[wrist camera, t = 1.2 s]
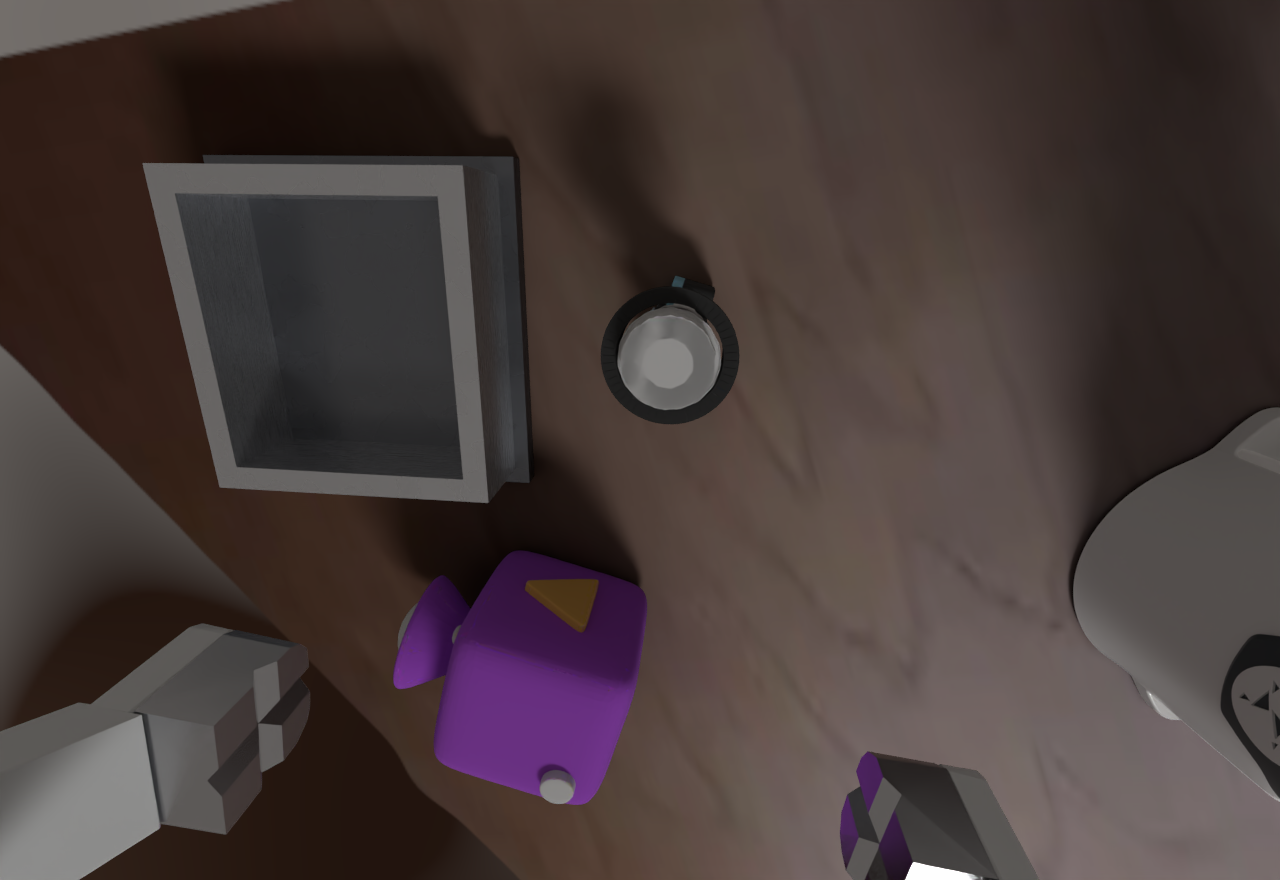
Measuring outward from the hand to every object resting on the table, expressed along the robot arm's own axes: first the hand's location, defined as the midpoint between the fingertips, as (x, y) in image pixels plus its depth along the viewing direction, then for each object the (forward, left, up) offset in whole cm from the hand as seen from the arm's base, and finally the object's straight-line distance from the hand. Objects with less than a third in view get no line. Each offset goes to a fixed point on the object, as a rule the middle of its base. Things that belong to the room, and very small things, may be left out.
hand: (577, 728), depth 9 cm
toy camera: (+8, +17, -25) cm, 31 cm away
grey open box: (+16, -1, -25) cm, 30 cm away
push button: (0, -1, -25) cm, 25 cm away
